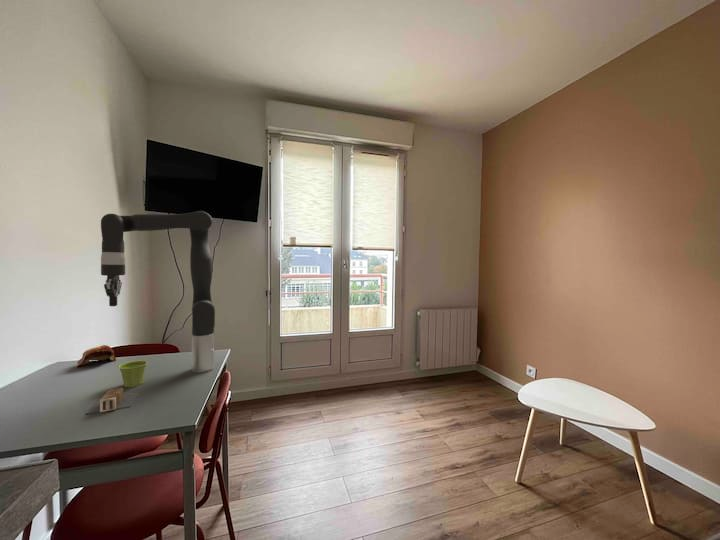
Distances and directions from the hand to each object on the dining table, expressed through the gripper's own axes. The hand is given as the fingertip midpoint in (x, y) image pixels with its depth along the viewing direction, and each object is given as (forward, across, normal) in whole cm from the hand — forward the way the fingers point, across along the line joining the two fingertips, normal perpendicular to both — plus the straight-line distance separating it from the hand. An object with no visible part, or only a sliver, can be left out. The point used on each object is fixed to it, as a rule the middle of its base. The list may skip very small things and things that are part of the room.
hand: (113, 305), depth 117 cm
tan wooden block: (+31, -25, -5) cm, 40 cm away
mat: (+33, -18, -5) cm, 38 cm away
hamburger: (+33, +33, +15) cm, 49 cm away
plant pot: (+33, -2, -7) cm, 34 cm away
